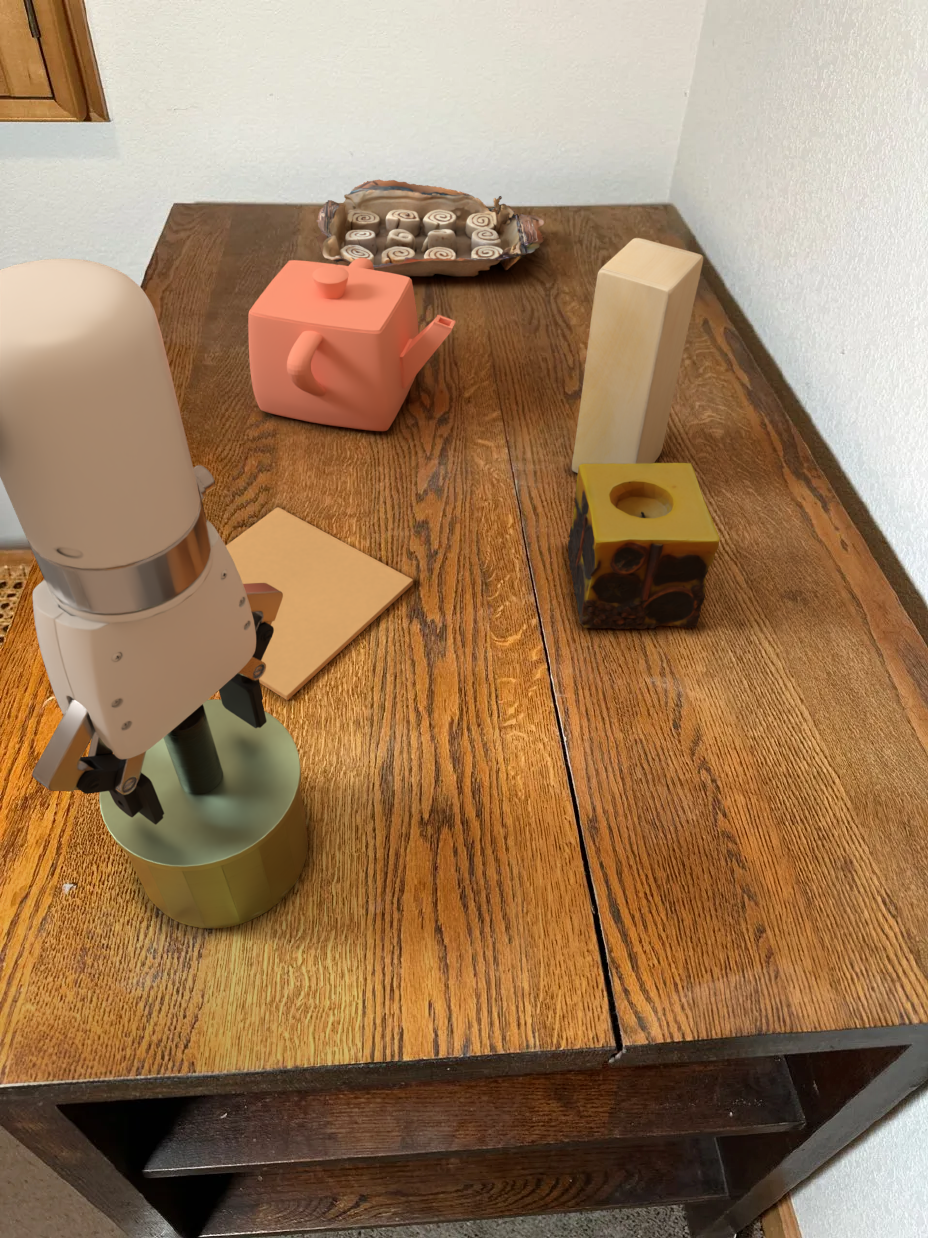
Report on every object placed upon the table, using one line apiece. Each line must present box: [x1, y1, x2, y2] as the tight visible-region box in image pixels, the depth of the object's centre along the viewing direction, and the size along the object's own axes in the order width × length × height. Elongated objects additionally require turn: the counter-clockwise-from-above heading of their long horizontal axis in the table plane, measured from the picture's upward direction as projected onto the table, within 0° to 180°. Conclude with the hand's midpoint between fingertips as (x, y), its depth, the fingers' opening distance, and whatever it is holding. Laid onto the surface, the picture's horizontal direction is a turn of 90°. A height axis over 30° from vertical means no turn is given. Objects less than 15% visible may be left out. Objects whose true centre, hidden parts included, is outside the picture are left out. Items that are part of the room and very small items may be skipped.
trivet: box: [225, 506, 414, 701], centre depth 80 cm, size 16×16×1 cm
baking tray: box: [315, 179, 545, 277], centre depth 122 cm, size 30×22×5 cm
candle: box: [567, 462, 721, 630], centre depth 78 cm, size 10×10×10 cm
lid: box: [98, 698, 302, 871], centre depth 55 cm, size 12×12×8 cm
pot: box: [126, 787, 309, 930], centre depth 61 cm, size 11×11×8 cm
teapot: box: [247, 258, 456, 432], centre depth 95 cm, size 20×22×14 cm
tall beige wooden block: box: [571, 237, 704, 474], centre depth 86 cm, size 8×7×21 cm
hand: (195, 758), depth 56 cm, fingers open, 7 cm apart
